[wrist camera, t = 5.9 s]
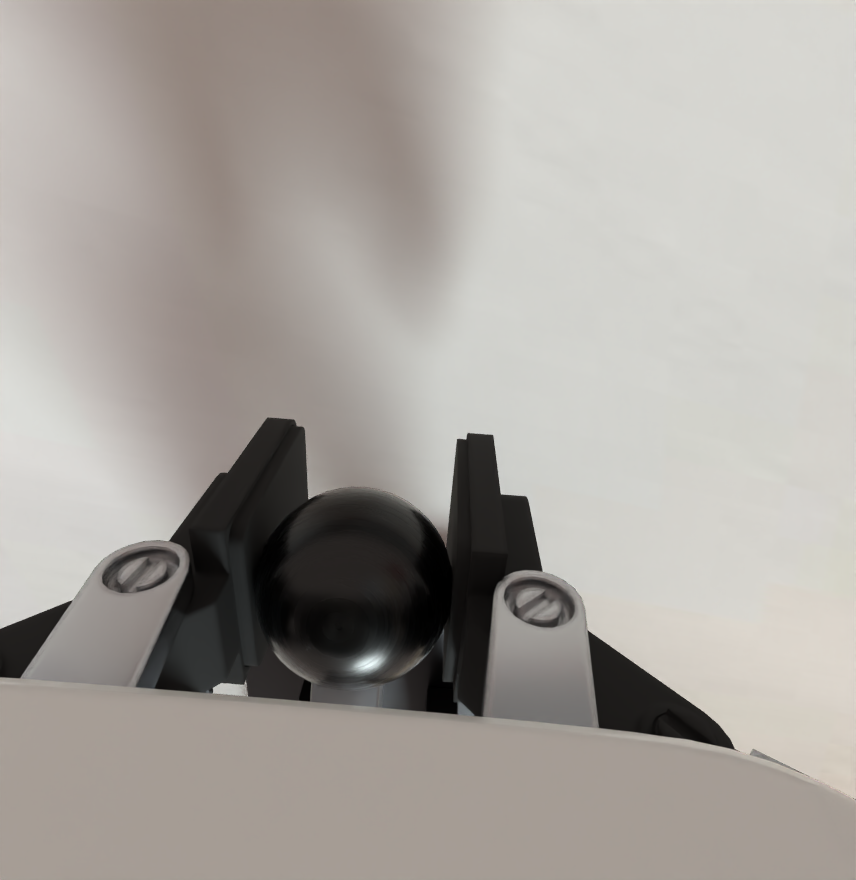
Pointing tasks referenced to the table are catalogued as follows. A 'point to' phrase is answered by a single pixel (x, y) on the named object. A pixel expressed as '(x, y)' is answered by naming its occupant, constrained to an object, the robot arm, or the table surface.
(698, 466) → the table surface
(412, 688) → the switch bracket
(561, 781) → the robot arm
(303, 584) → the lever
